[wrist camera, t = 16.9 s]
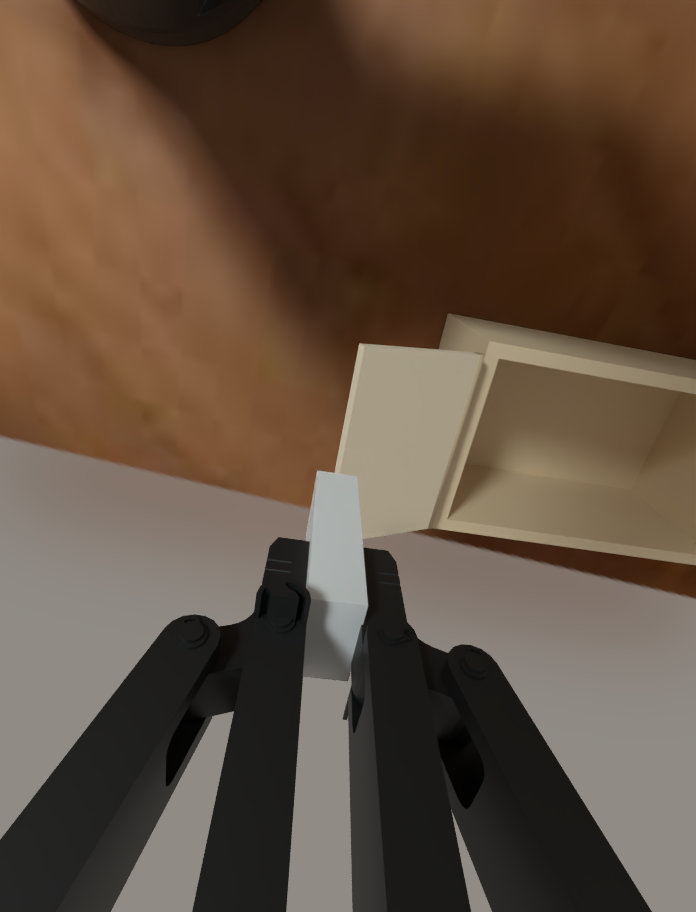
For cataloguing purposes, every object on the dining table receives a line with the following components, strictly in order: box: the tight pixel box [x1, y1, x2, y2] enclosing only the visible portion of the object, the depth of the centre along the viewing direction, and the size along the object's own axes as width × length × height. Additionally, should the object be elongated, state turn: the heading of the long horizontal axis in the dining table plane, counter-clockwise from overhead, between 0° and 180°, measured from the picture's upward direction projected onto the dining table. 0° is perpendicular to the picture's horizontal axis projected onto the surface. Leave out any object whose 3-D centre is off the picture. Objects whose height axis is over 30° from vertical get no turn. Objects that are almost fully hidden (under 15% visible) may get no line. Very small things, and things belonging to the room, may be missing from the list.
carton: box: [432, 313, 696, 565], centre depth 33 cm, size 20×12×10 cm, turn 80°
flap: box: [335, 343, 485, 539], centre depth 25 cm, size 1×11×7 cm
